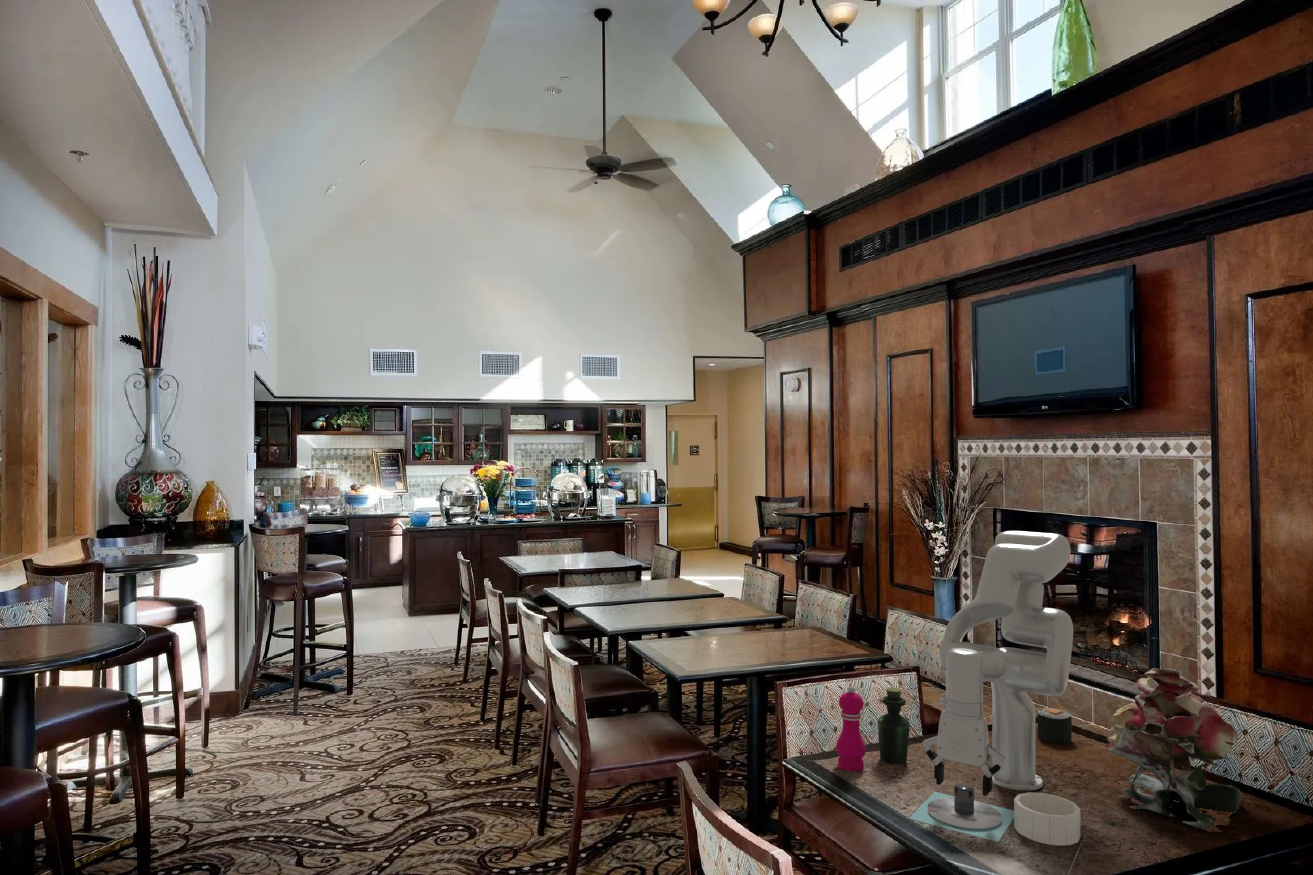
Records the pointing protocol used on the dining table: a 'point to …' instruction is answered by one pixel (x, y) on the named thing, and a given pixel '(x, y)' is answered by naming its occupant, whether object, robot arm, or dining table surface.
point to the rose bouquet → (1173, 746)
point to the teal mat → (989, 834)
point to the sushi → (1054, 726)
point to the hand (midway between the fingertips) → (962, 788)
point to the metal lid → (964, 811)
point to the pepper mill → (851, 732)
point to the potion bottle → (893, 729)
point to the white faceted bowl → (1047, 818)
